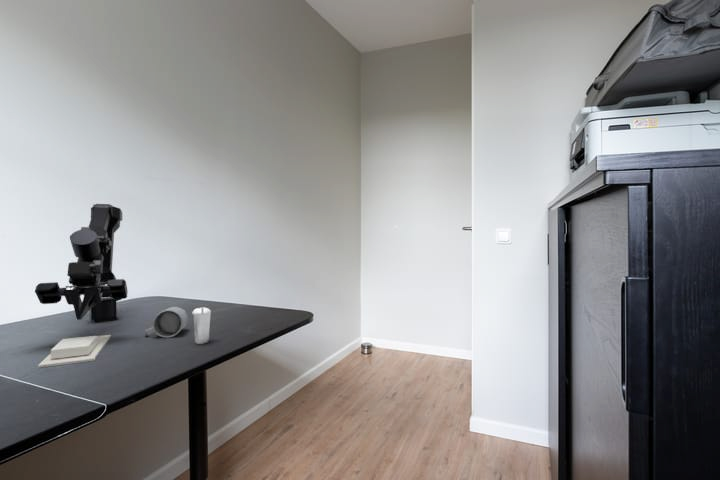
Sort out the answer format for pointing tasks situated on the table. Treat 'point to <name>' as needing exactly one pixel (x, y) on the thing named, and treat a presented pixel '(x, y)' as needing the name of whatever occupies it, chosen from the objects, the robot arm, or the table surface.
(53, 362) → the mat
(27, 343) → the table surface
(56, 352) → the tile
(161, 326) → the ceramic mug
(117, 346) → the table surface
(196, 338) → the milkshake
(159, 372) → the table surface
